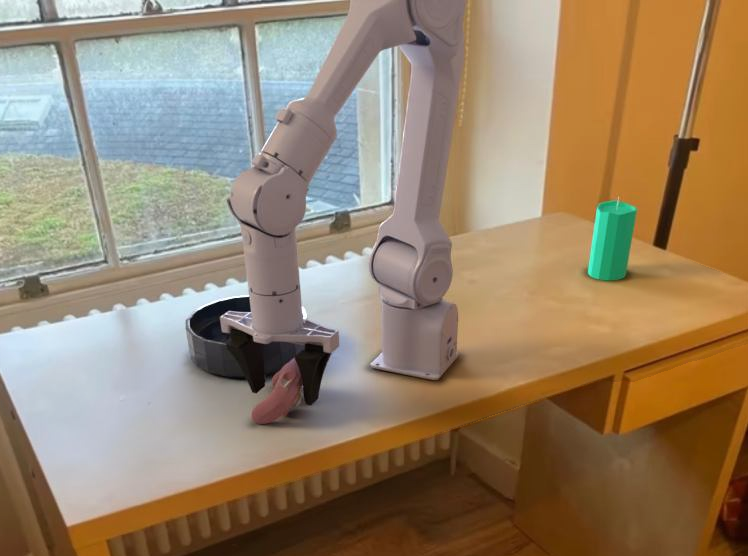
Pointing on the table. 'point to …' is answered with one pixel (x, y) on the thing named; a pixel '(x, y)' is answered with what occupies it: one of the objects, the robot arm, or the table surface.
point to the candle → (611, 240)
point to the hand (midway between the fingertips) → (284, 395)
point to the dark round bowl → (211, 341)
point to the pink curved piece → (280, 395)
